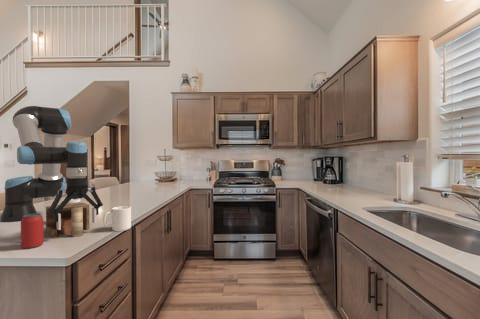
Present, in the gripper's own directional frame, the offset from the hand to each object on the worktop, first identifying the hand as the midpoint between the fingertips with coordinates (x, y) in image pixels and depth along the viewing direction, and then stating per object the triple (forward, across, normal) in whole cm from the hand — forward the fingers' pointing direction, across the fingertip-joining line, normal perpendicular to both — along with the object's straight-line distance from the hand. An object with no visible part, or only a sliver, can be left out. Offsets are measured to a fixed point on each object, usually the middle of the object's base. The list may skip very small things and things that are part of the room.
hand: (77, 225), depth 107 cm
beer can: (+4, -16, -1) cm, 16 cm away
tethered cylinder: (+4, 0, +5) cm, 7 cm away
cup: (+4, +15, -5) cm, 16 cm away
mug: (+4, +5, +27) cm, 28 cm away
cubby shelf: (+4, 0, +11) cm, 12 cm away
